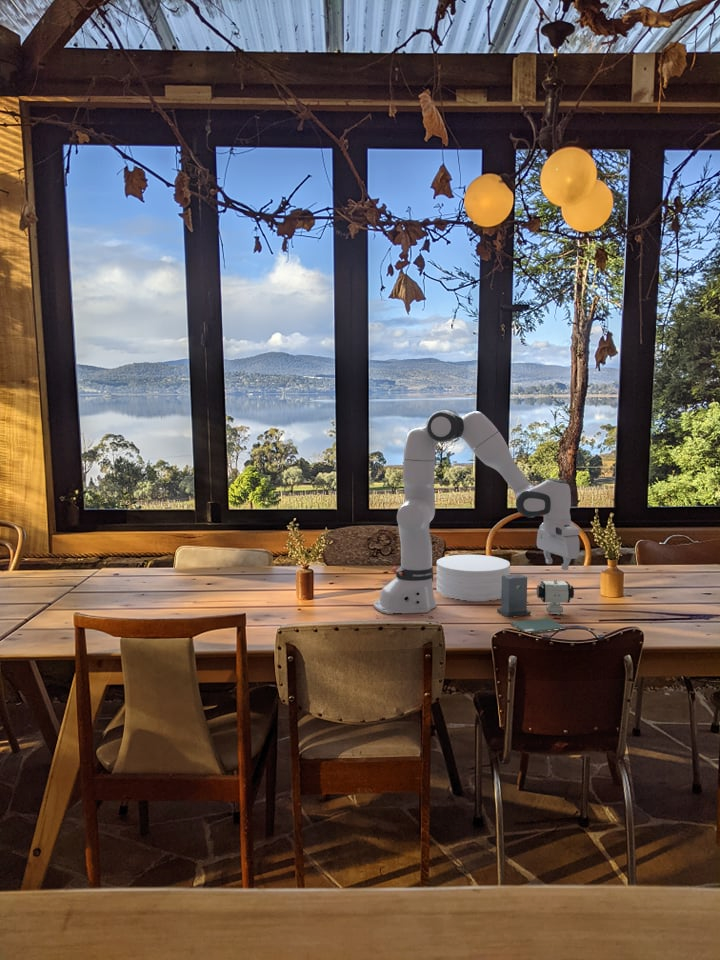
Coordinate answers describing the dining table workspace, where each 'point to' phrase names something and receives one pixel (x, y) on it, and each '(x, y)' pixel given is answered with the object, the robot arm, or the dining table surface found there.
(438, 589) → the plate stack
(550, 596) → the pneumatic valve
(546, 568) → the dining table surface
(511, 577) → the block
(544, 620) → the mat
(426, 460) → the robot arm
